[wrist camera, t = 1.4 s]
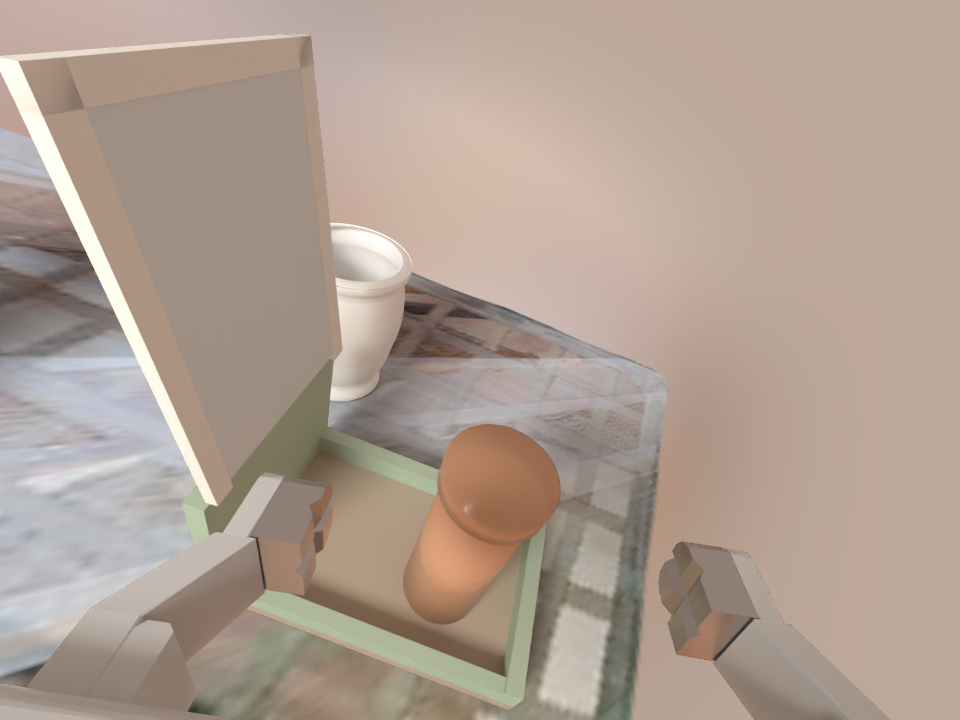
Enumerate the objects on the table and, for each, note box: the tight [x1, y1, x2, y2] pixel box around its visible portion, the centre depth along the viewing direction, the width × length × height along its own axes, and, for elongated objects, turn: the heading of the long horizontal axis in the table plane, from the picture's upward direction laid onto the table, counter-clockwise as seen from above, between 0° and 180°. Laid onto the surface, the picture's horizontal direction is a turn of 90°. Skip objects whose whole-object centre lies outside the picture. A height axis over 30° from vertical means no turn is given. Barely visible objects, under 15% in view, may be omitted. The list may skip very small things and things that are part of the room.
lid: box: [0, 33, 343, 506], centre depth 22 cm, size 19×14×1 cm
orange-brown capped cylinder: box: [403, 424, 560, 625], centre depth 30 cm, size 7×7×15 cm
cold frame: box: [182, 359, 547, 710], centre depth 32 cm, size 22×14×12 cm, turn 75°
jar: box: [330, 223, 412, 401], centre depth 44 cm, size 11×10×15 cm
